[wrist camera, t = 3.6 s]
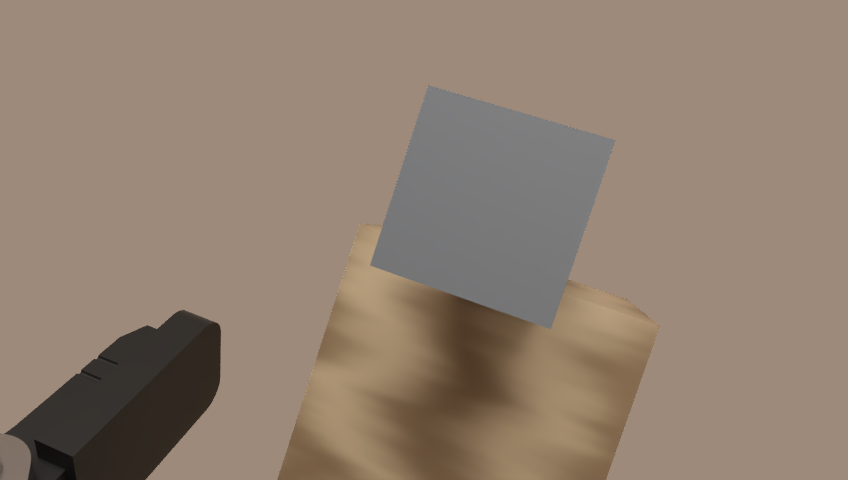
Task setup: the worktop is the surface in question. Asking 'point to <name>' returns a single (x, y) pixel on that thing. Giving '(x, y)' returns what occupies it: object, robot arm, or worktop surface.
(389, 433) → the stand
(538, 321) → the block
